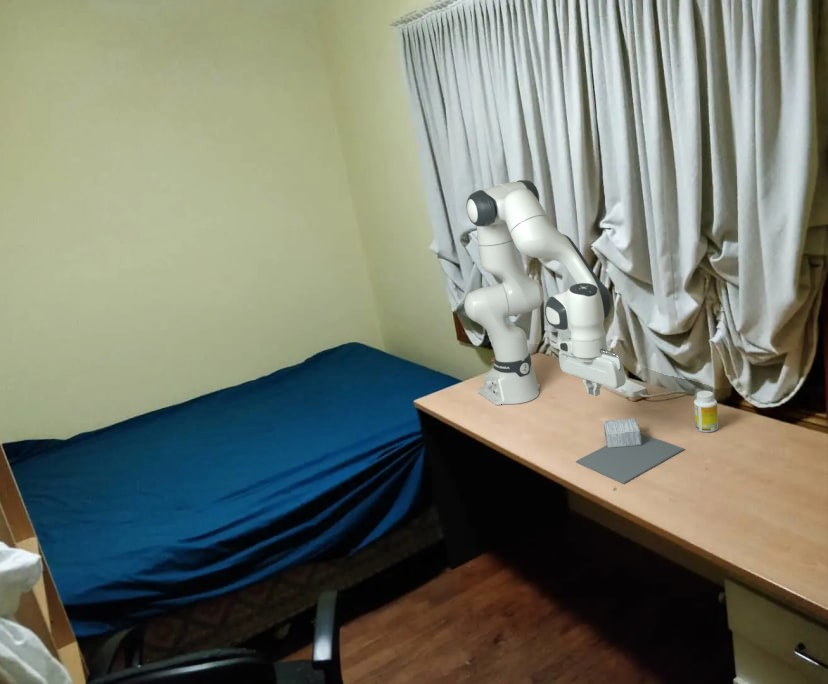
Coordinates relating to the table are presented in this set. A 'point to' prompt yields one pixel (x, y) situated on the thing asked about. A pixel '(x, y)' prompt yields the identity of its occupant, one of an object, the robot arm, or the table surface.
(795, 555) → the table surface
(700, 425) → the supplement bottle
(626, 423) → the medicine box
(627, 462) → the mat
